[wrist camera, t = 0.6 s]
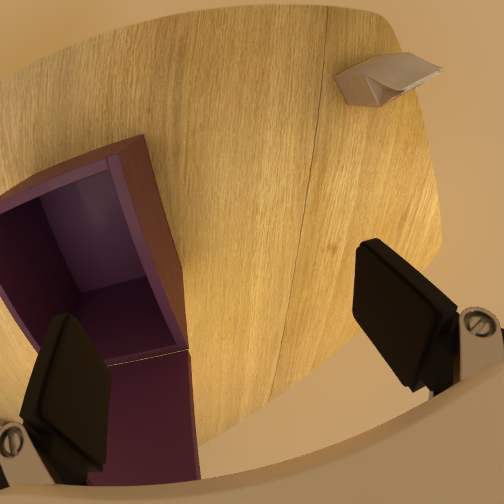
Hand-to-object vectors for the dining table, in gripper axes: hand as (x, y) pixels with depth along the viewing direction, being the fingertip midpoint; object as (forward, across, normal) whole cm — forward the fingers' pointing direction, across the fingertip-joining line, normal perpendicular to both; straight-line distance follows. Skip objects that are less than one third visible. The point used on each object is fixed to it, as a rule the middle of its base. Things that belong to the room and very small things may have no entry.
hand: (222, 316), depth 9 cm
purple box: (+23, +10, +4) cm, 26 cm away
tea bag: (+23, -20, -7) cm, 32 cm away
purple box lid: (+2, +10, +9) cm, 14 cm away
